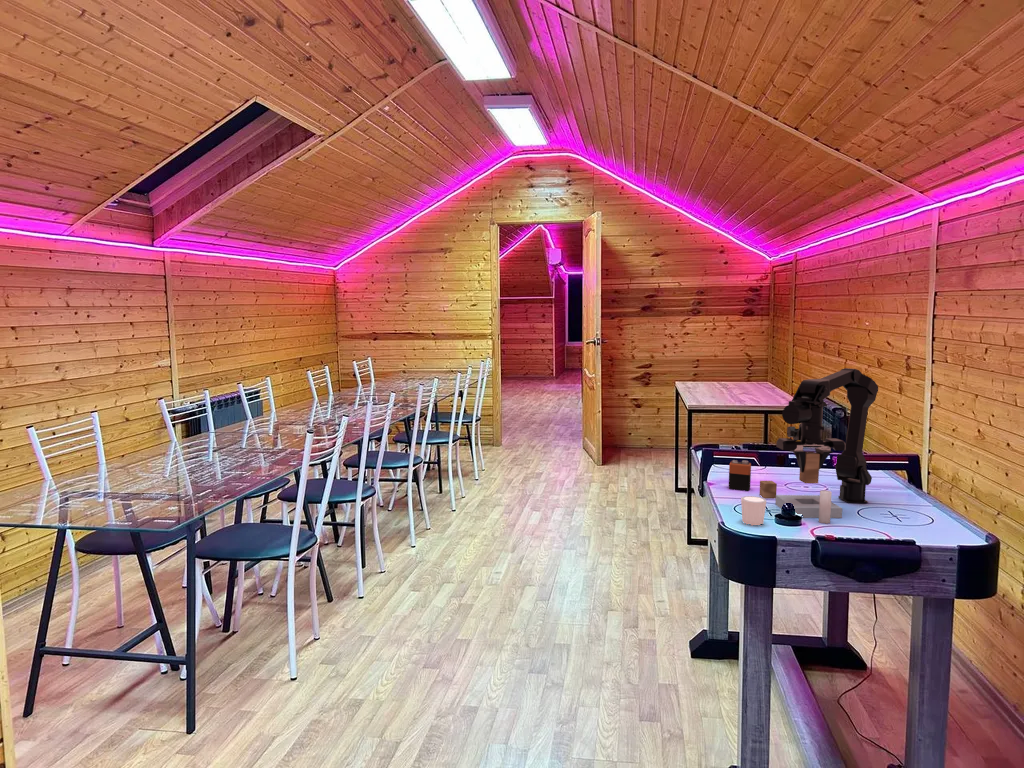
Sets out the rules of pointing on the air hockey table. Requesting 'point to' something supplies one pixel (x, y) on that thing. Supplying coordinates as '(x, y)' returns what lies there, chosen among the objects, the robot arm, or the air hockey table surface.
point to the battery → (739, 475)
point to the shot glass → (753, 510)
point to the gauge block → (812, 505)
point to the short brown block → (768, 489)
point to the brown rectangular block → (810, 468)
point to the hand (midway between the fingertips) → (809, 472)
